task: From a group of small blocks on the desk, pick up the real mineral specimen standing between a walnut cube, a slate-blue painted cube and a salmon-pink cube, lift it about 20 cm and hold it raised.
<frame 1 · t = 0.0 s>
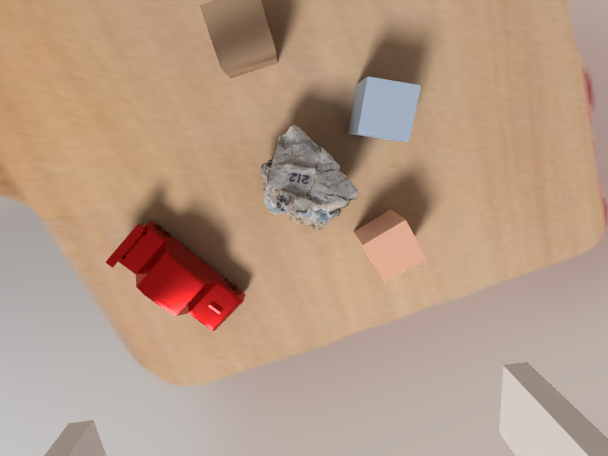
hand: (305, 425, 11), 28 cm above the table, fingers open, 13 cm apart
walnut cube: (245, 44, 33), on the table
toy car: (187, 269, 39), on the table
salmon-pink cube: (381, 237, 39), on the table
mineral specimen: (303, 179, 37), on the table
slate-blue cube: (374, 113, 35), on the table
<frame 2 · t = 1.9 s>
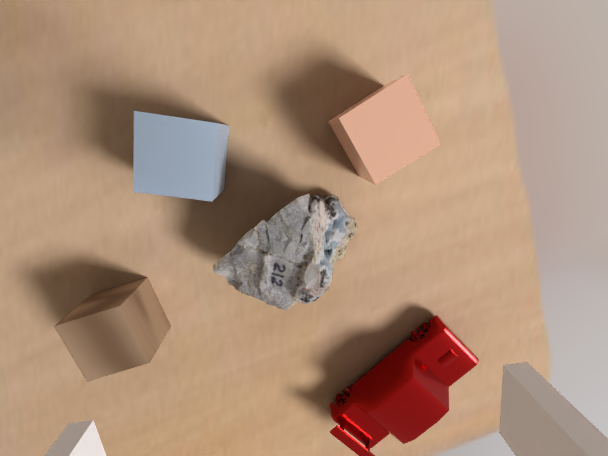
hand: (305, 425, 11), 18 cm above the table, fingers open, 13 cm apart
walnut cube: (132, 310, 29), on the table
toy car: (393, 369, 33), on the table
salmon-pink cube: (370, 132, 26), on the table
mineral specimen: (289, 240, 28), on the table
slate-blue cube: (194, 154, 26), on the table
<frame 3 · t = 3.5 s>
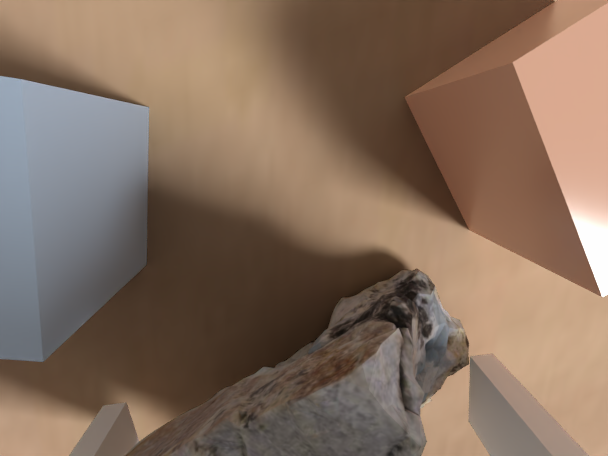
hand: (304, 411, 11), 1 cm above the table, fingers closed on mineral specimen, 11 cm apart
salmon-pink cube: (506, 125, 11), on the table
mineral specimen: (304, 358, 13), on the table, touching gripper
slate-blue cube: (65, 180, 10), on the table
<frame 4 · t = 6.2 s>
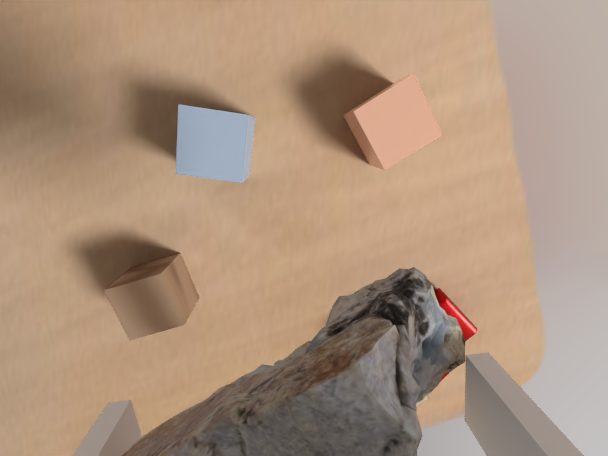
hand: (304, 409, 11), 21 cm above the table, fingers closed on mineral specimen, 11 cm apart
walnut cube: (166, 282, 32), on the table
toy car: (398, 339, 36), on the table
salmon-pink cube: (380, 125, 29), on the table
mineral specimen: (302, 356, 13), point 19 cm above the table, touching gripper
slate-blue cube: (224, 143, 29), on the table
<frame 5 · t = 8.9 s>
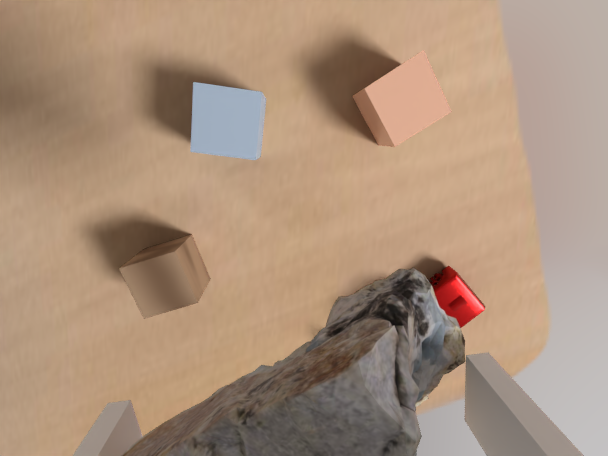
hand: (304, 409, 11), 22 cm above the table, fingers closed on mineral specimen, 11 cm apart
walnut cube: (178, 264, 33), on the table
toy car: (406, 317, 36), on the table
salmon-pink cube: (389, 105, 30), on the table
mineral specimen: (302, 357, 13), point 20 cm above the table, touching gripper
slate-blue cube: (235, 124, 30), on the table
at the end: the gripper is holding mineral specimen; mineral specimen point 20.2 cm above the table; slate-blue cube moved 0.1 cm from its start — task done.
